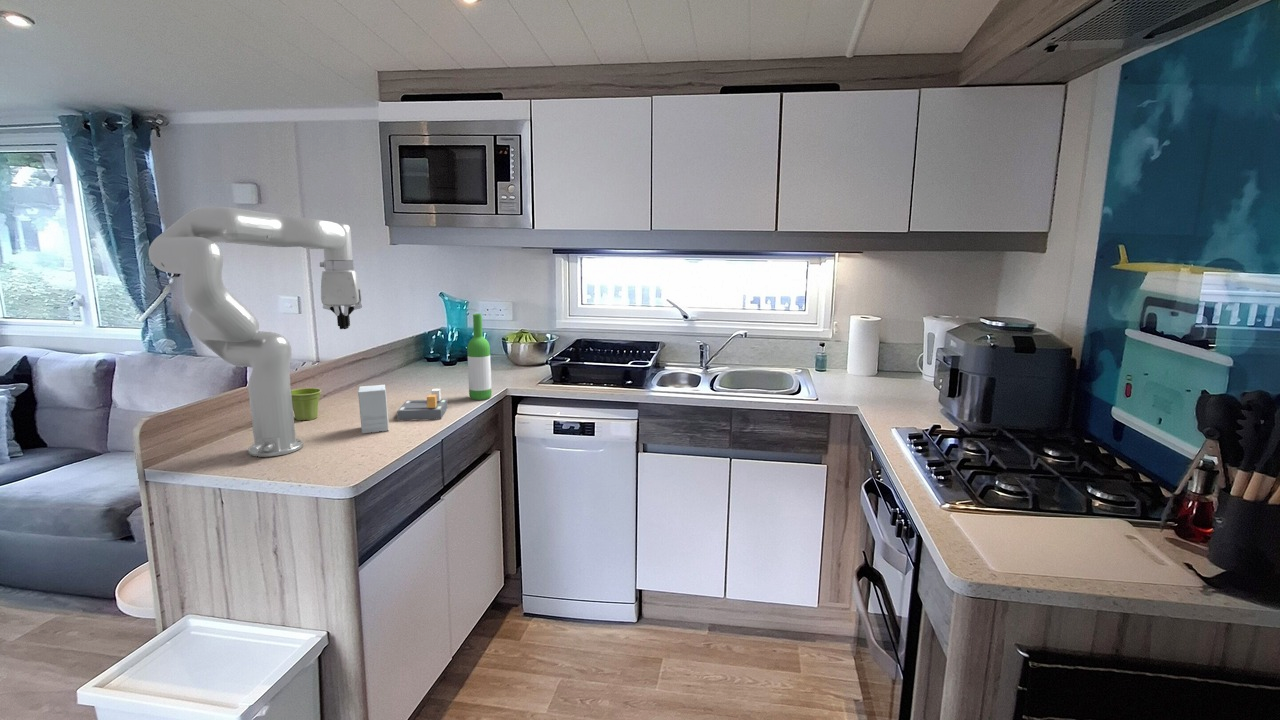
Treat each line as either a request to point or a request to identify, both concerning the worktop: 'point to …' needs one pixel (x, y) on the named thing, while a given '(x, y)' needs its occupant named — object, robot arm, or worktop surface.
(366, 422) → the supplement box
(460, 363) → the worktop surface
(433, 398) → the block
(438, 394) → the white slider switch
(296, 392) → the plant pot
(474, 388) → the wine bottle
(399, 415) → the slider switch panel
